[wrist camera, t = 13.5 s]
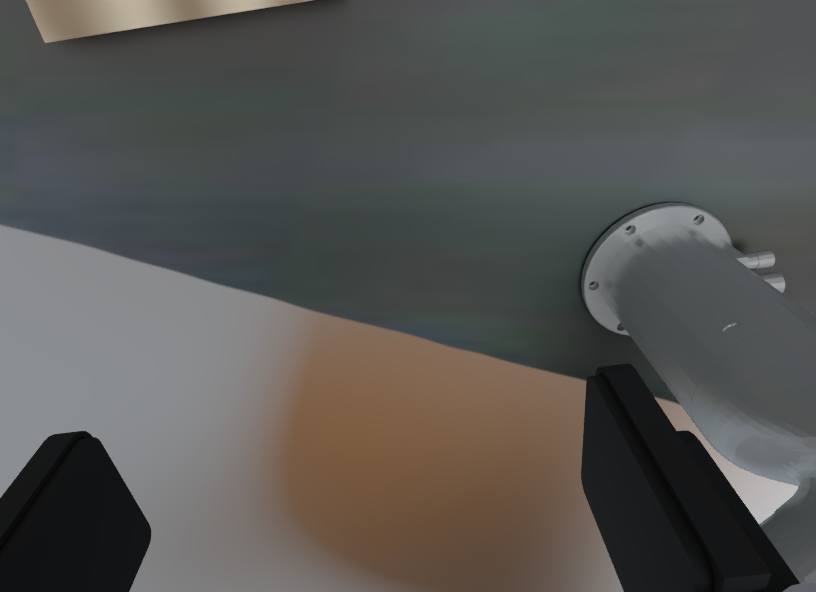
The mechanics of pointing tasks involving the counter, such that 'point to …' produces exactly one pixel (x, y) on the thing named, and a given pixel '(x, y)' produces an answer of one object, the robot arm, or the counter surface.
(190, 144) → the counter surface
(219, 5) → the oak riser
